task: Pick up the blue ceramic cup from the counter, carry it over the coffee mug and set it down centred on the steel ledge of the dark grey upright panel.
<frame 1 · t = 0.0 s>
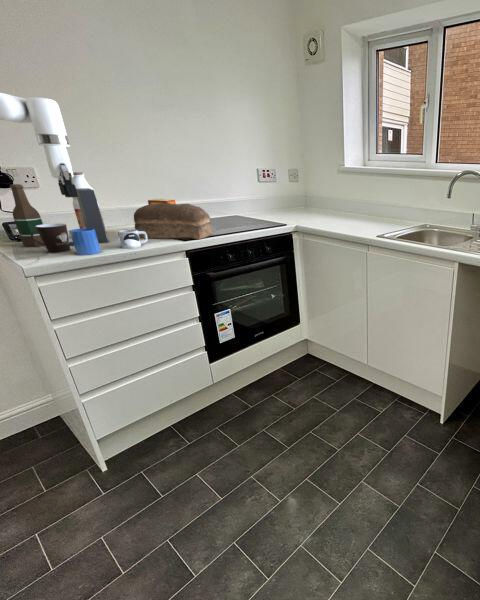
hand: (69, 195, 120), 22 cm above the countertop, tool pointing down, fingers open, 9 cm apart
coffee mug: (54, 251, 137), on the countertop
beer bottle: (37, 245, 145), on the countertop
bread: (176, 236, 170), on the countertop
baking soda box: (168, 231, 182), on the countertop
blue cup: (89, 252, 137), on the countertop
mug: (136, 246, 150), on the countertop
fruit juice: (94, 233, 170), on the countertop
dark grey upright panel: (82, 242, 152), on the countertop
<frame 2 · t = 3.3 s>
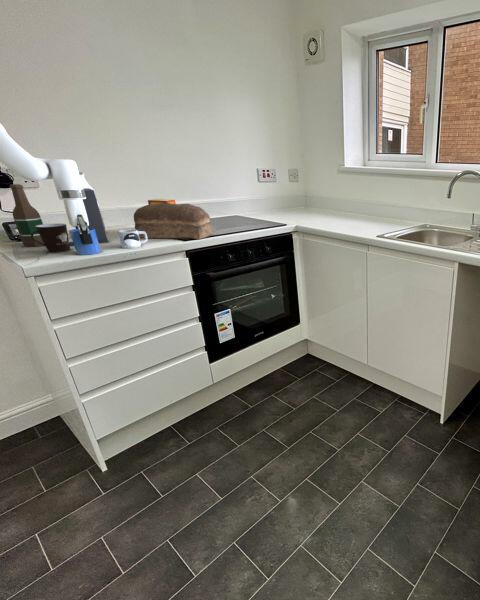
hand: (85, 242, 135), 4 cm above the countertop, tool pointing down, fingers closed on blue cup, 7 cm apart
blue cup: (89, 252, 137), on the countertop, touching gripper
everything else where it was.
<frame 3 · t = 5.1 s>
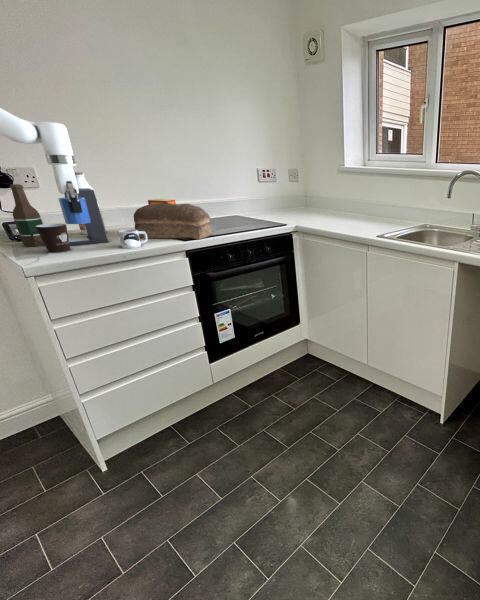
hand: (75, 211, 131), 16 cm above the countertop, tool pointing down, fingers closed on blue cup, 7 cm apart
blue cup: (78, 222, 132), point 12 cm above the countertop, touching gripper
everything else where it was.
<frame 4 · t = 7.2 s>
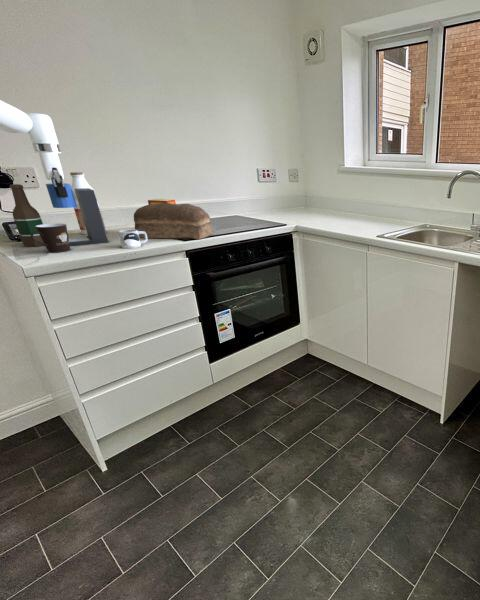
hand: (61, 196, 142), 20 cm above the countertop, tool pointing down, fingers closed on blue cup, 7 cm apart
blue cup: (65, 206, 143), point 15 cm above the countertop, touching gripper
everything else where it was.
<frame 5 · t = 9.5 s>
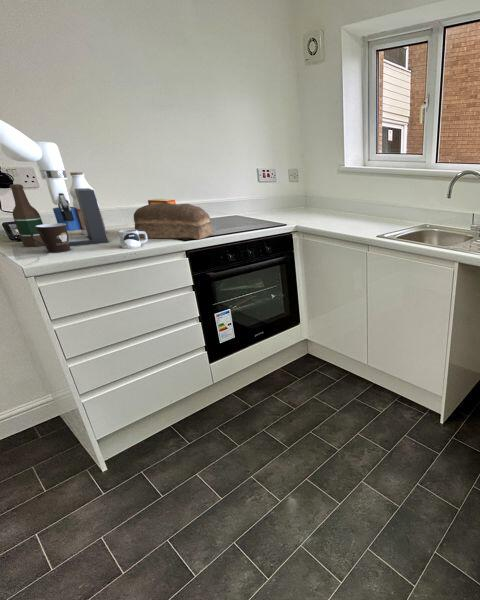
hand: (67, 219, 147), 10 cm above the countertop, tool pointing down, fingers closed on blue cup, 7 cm apart
blue cup: (71, 229, 149), point 6 cm above the countertop, touching gripper
everything else where it was.
when the fingers open (6 cm above the countertop, at t = 11.1 s): blue cup stays where it is, resting on dark grey upright panel.
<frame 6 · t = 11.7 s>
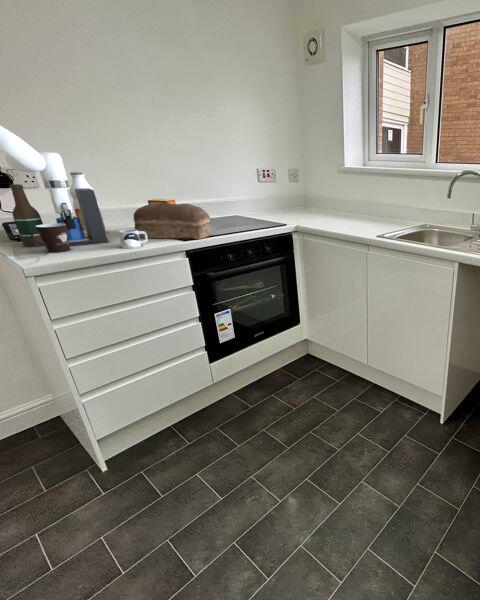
hand: (69, 227, 148), 7 cm above the countertop, tool pointing down, fingers open, 9 cm apart
blue cup: (73, 239, 150), point 2 cm above the countertop, touching dark grey upright panel
everything else where it was.
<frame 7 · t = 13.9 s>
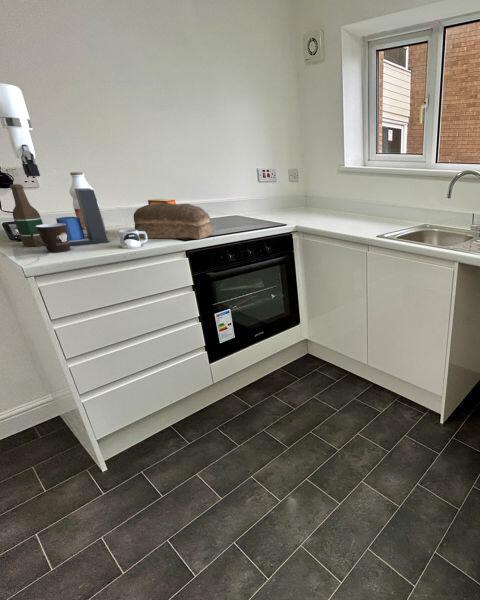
hand: (32, 175, 129), 28 cm above the countertop, tool pointing down, fingers open, 9 cm apart
nothing on the countertop moved.
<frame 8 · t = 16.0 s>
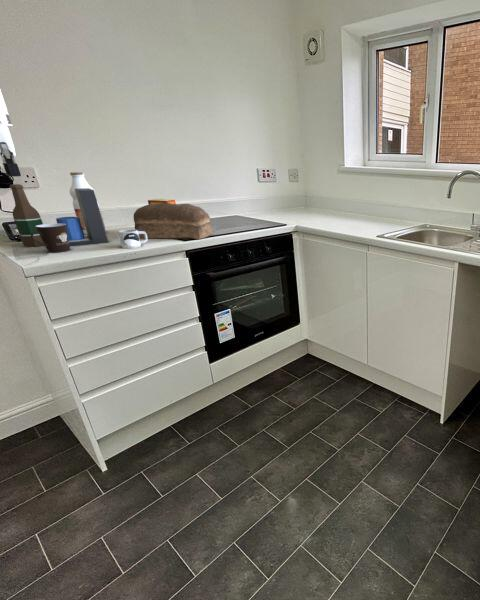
hand: (13, 175, 120), 28 cm above the countertop, tool pointing down, fingers open, 9 cm apart
nothing on the countertop moved.
at the end: blue cup 0.1 cm from the target spot on the dark grey upright panel, point 1.7 cm above the dark grey upright panel's base; blue cup tilted 0°; the gripper is holding nothing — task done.
